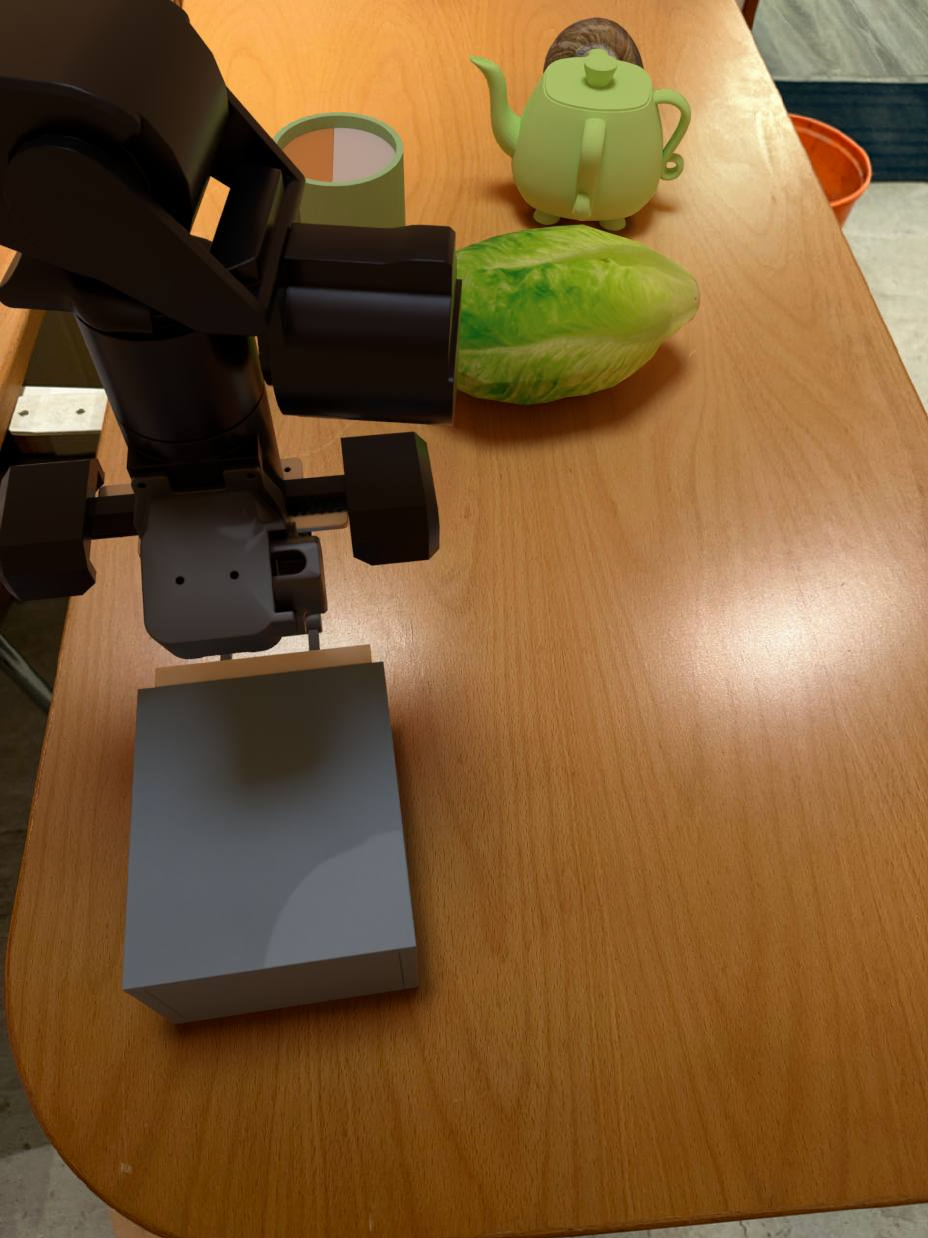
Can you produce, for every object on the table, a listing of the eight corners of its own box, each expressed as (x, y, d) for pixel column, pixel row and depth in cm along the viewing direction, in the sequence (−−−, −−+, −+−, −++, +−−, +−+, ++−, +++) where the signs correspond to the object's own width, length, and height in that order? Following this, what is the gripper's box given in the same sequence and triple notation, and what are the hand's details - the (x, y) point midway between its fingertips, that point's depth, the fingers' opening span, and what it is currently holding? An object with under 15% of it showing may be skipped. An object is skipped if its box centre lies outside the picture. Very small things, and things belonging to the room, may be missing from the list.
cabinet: (179, 761, 53) (137, 688, 46) (390, 735, 55) (383, 660, 47) (173, 1024, 46) (121, 990, 38) (419, 987, 47) (416, 946, 39)
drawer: (188, 666, 56) (157, 600, 50) (370, 645, 57) (363, 579, 51) (182, 962, 46) (144, 926, 40) (401, 930, 48) (396, 891, 41)
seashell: (550, 135, 92) (559, 51, 85) (530, 87, 97) (538, 5, 90) (656, 127, 93) (673, 44, 86) (631, 81, 98) (646, -1, 91)
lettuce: (708, 414, 70) (753, 288, 61) (424, 458, 67) (422, 332, 57) (652, 309, 77) (684, 179, 67) (391, 344, 74) (385, 213, 64)
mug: (405, 244, 81) (401, 108, 71) (408, 320, 75) (404, 185, 65) (265, 246, 80) (240, 109, 70) (257, 323, 75) (230, 187, 65)
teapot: (549, 271, 80) (567, 129, 69) (462, 190, 86) (466, 48, 75) (687, 215, 85) (723, 75, 74) (596, 143, 91) (617, 4, 80)
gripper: (-115, 587, 29) (56, 779, 42) (463, 530, 31) (453, 730, 44) (-59, 351, 35) (76, 584, 48) (422, 316, 37) (424, 549, 50)
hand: (255, 613), depth 47 cm, fingers closed
